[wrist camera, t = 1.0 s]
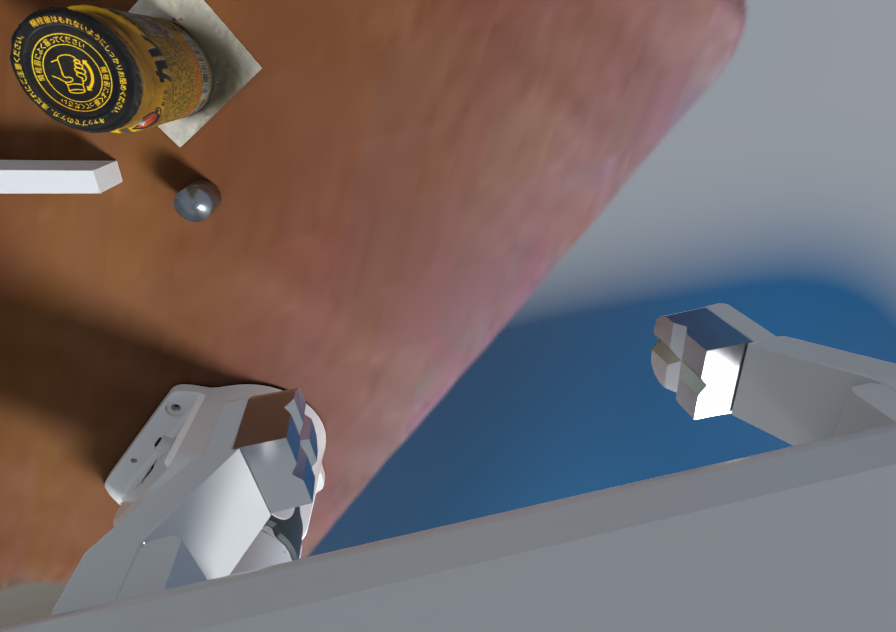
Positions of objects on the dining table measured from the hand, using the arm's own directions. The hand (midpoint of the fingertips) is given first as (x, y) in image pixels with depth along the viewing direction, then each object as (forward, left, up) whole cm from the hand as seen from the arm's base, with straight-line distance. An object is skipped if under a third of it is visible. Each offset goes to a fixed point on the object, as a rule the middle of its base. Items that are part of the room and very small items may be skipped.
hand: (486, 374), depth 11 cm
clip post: (-14, +7, -30) cm, 34 cm away
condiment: (-8, +14, -31) cm, 35 cm away
